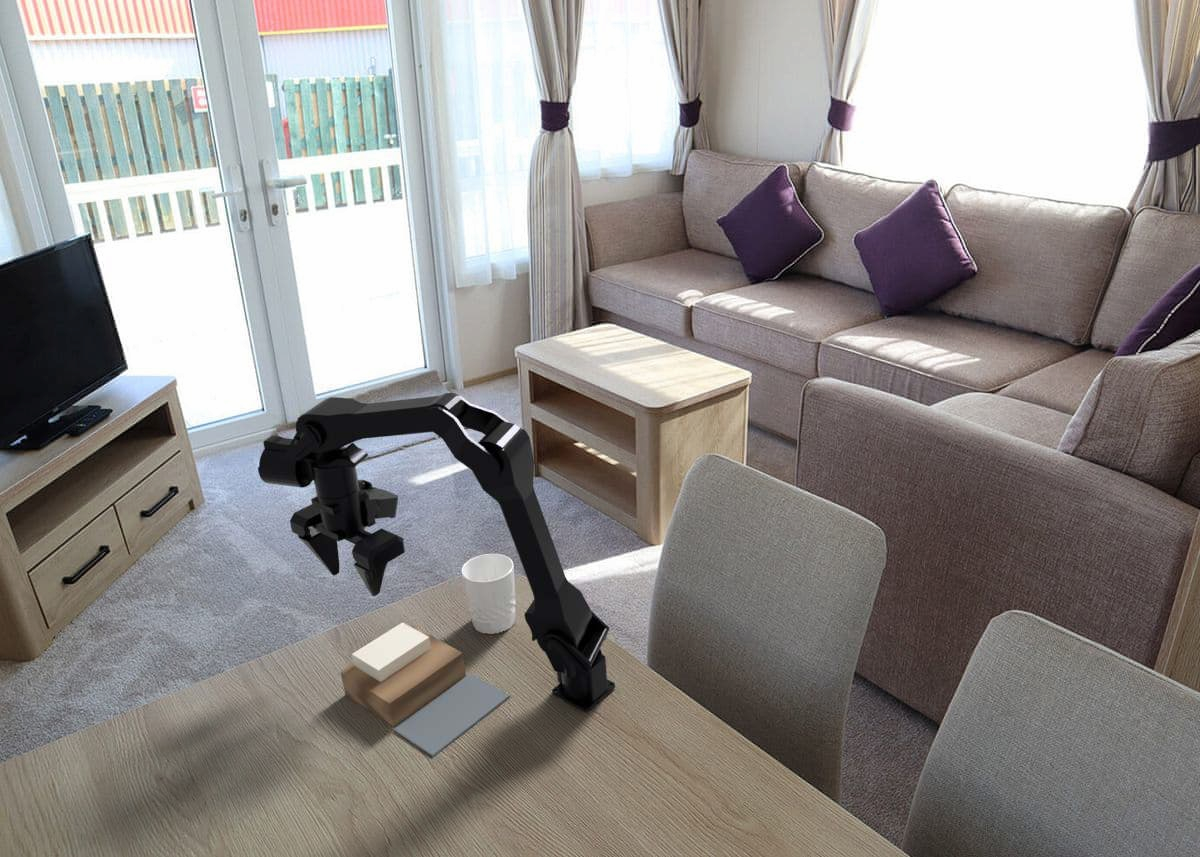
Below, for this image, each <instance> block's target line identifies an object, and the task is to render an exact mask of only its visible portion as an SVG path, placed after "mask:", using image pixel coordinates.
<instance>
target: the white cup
mask: <svg viewBox="0 0 1200 857" xmlns="http://www.w3.org/2000/svg"><path fill="white" fill-rule="evenodd" d="M514 569H515V568H514V562H513V560H512V559H511V558H510V557H509V556H507V555H504V554H502V553H501V554H500V553H486V554H480V555H477V556H475V557H472V558H470V559H468V560H467V561H466V562H464V564H463V565H462V567H461V575H462V580H463V586H464V587H463V588H464V591H465V596H466V601H467V606H468V609H469V613H470V617H471V622H472V626H473V627H474V629H475V630H476V631H477V632H480V633H481V634H486V633H487V635H495V633H496V634H500V632H501V633H503V631H504V632H505V631H508V630H509V629H511V628H512V626H513V625H514V624H515V623H516V617H517V614H516V586H515V584H516V582H515V570H514Z"/></svg>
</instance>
